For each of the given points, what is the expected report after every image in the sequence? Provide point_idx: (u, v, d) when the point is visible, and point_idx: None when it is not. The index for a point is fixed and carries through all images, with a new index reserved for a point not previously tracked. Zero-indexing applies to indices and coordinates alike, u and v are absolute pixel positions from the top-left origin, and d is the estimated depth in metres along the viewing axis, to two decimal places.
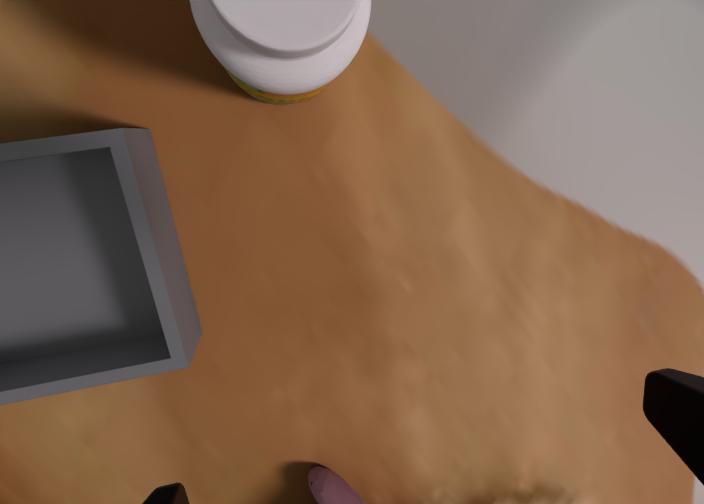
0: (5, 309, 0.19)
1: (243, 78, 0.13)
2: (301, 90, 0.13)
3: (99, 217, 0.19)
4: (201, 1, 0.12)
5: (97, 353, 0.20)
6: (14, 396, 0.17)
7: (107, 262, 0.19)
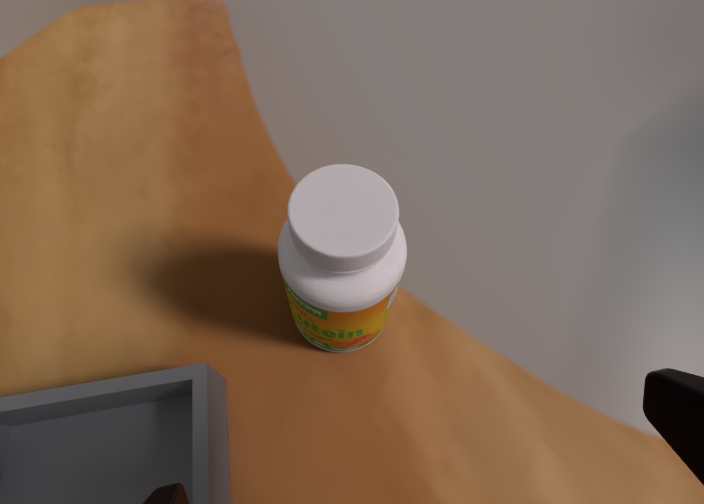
0: None
1: (311, 298, 0.16)
2: (357, 304, 0.16)
3: (159, 466, 0.19)
4: (286, 250, 0.16)
5: None
6: None
7: None
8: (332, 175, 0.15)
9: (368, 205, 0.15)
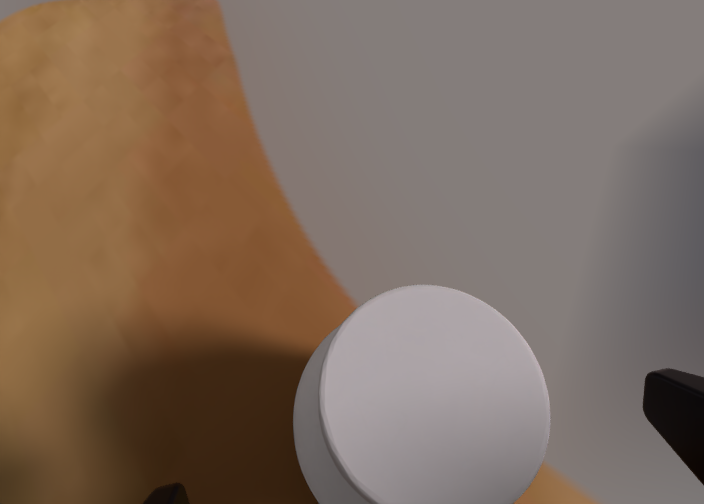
0: None
1: None
2: None
3: None
4: (310, 437, 0.09)
5: None
6: None
7: None
8: (406, 312, 0.08)
9: (484, 385, 0.07)
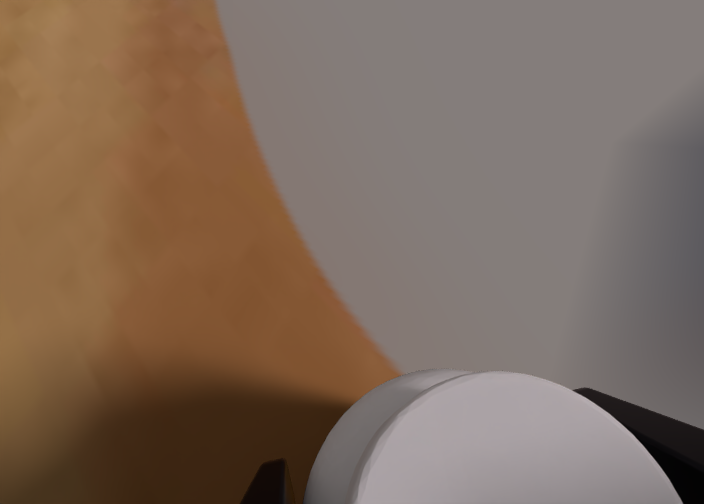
0: None
1: None
2: None
3: None
4: None
5: None
6: None
7: None
8: (473, 419, 0.05)
9: None
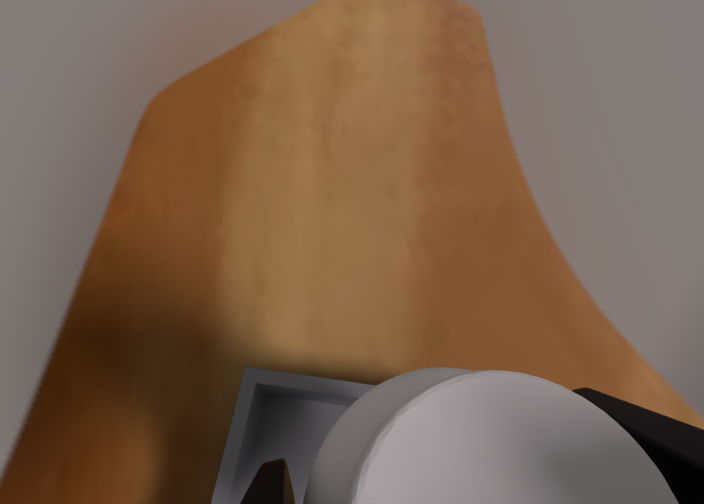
0: None
1: None
2: None
3: None
4: None
5: None
6: None
7: None
8: (471, 417, 0.05)
9: None
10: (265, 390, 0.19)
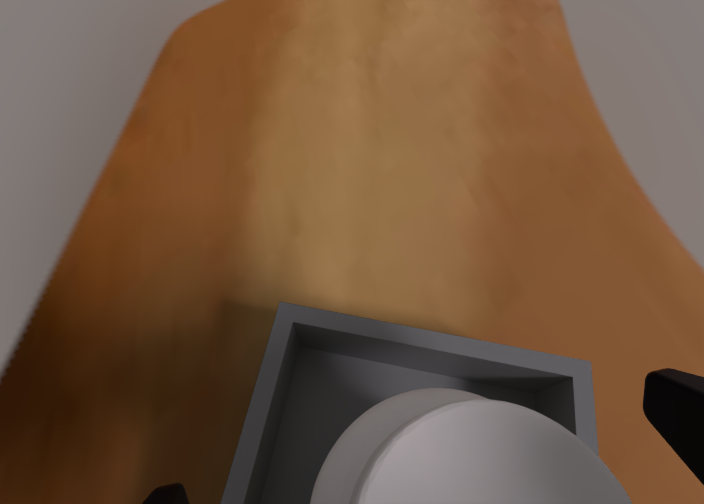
0: None
1: None
2: None
3: None
4: None
5: None
6: None
7: None
8: (459, 442, 0.06)
9: None
10: (301, 338, 0.15)
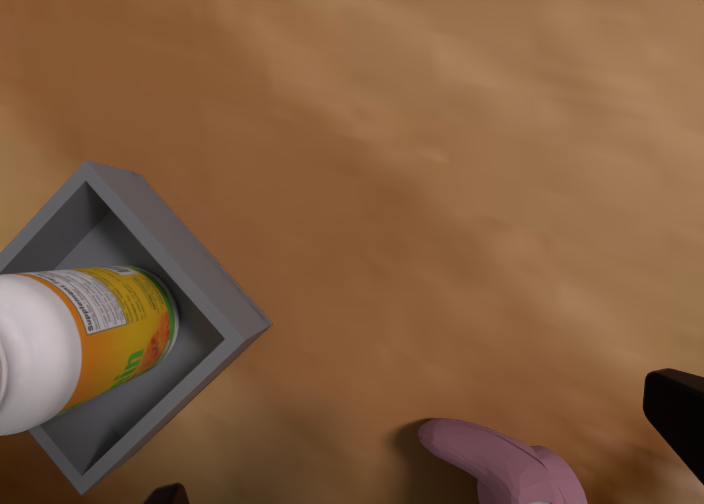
0: None
1: (29, 428, 0.14)
2: (62, 391, 0.14)
3: (136, 263, 0.21)
4: None
5: None
6: (126, 444, 0.18)
7: None
8: None
9: None
10: None
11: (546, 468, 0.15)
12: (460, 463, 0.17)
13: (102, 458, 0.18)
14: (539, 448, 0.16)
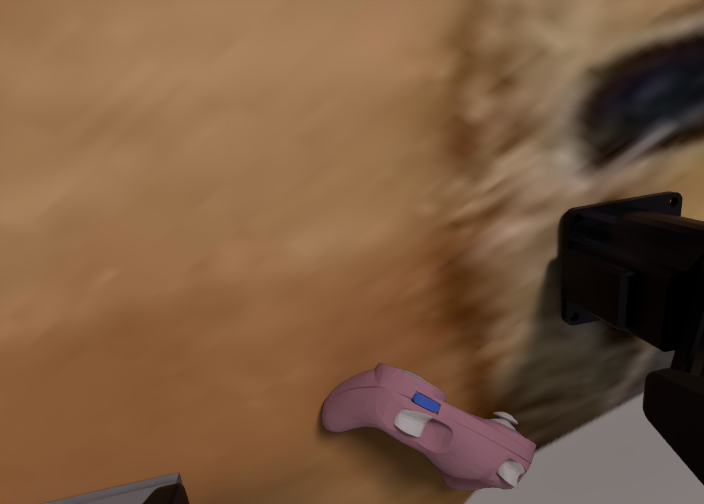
0: None
1: None
2: None
3: None
4: None
5: None
6: None
7: None
8: None
9: None
10: None
11: (385, 387, 0.18)
12: (352, 428, 0.20)
13: None
14: (377, 368, 0.19)
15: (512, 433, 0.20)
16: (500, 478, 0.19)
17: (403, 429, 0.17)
